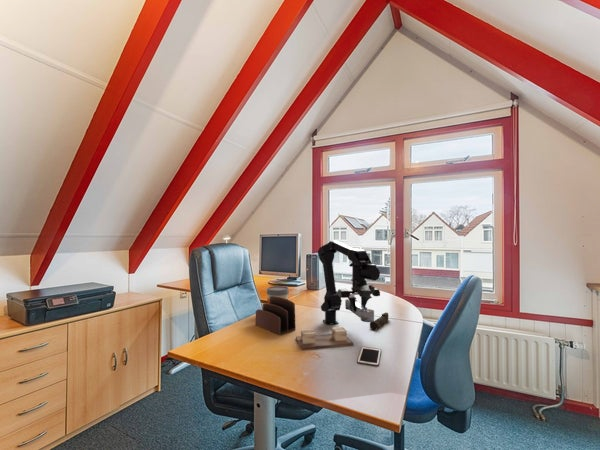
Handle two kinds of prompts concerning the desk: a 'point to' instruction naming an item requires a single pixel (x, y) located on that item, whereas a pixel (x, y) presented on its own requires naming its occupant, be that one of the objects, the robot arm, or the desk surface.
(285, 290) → the reusable coffee cup
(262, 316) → the letter holder
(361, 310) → the grey long block
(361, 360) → the cell phone
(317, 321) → the desk surface
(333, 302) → the robot arm
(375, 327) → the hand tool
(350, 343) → the tool rack
